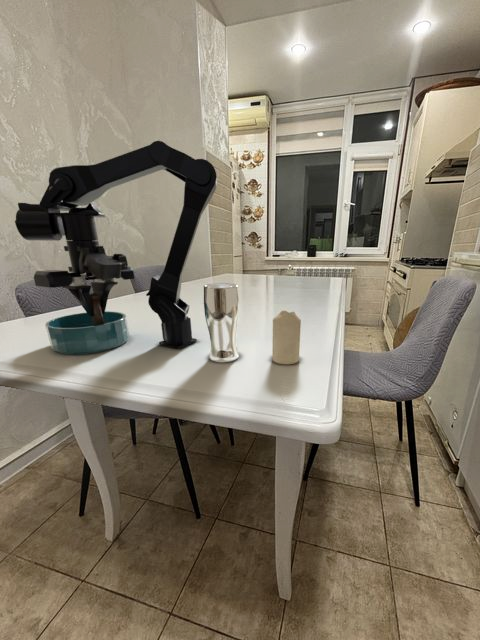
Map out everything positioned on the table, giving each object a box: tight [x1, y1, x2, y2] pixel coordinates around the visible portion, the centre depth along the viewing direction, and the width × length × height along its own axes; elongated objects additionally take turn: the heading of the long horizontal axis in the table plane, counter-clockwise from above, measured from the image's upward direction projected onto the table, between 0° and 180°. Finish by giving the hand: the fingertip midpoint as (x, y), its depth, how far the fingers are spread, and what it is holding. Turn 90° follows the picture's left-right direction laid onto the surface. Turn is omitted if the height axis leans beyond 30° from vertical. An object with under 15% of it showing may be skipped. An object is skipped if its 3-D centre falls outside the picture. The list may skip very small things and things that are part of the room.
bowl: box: [45, 310, 130, 355], centre depth 69 cm, size 16×16×6 cm
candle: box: [271, 310, 302, 365], centre depth 58 cm, size 6×6×10 cm
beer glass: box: [203, 282, 240, 363], centre depth 59 cm, size 7×7×15 cm
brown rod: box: [90, 292, 104, 326], centre depth 65 cm, size 3×3×12 cm
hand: (97, 315), depth 65 cm, fingers closed on brown rod, 2 cm apart
